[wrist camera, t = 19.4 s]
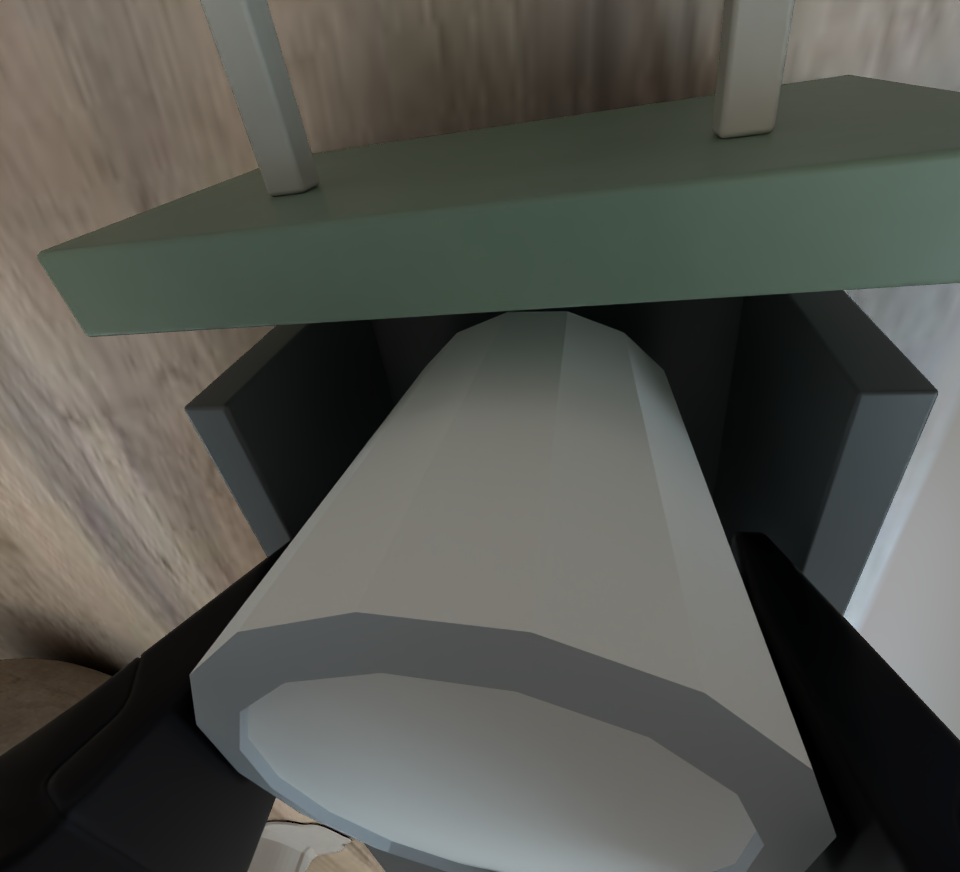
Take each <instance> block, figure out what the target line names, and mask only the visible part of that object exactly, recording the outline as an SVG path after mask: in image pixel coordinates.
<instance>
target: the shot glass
mask: <svg viewBox="0 0 960 872" xmlns="http://www.w3.org/2000/svg"><path fill="white" fill-rule="evenodd" d="M190 683H191V690H192V697H193V704H194V712H195V719H196V725H197V726H198V727H199V728H200V729H201V730H202V732H203V733H204V734H205V735H206V736H207V737H208V738H209V740H210V741H211V742H212V743H213V744H214V745H215V746H216V747H217V749H218V750H219V751H220V752H221V753H222V754H223V755H224V757H225V758H226V759H227V760H228V761H229V762H230V763H231V764H232V766H233V767H234V768H235V769H236V770H237V771H238V772H239V773H240V774H242V775H243V776H245V777H246V778H248V779H249V780H251V781H252V782H254V783H255V784H257V785H258V786H260V787H261V788H263V789H264V790H266V791H267V792H269V793H271V794H272V795H274V796H275V797H277V798H278V799H280V800H281V801H283V802H284V803H286V804H287V805H289V806H290V807H292V808H293V809H295V810H296V811H298V812H299V813H301V814H303V815H305V816H307V817H309V818H311V819H314V820H316V821H318V822H320V823H322V824H324V825H327V826H329V827H331V828H333V829H335V830H337V831H340V832H342V833H344V834H346V835H348V836H350V837H353V838H355V839H357V840H359V841H361V842H363V843H366V844H368V845H370V846H372V847H374V848H377V849H379V850H382V851H385V852H388V853H391V854H394V855H397V856H400V857H403V858H406V859H409V860H412V861H415V862H418V863H421V864H424V865H427V866H430V867H433V868H437V869H440V870H443V871H446V872H805V871H806V870H807V869H808V867H809V866H810V865H811V864H812V863H813V862H814V861H815V860H816V859H817V858H818V856H819V855H820V854H821V853H822V852H823V851H824V850H825V849H826V848H827V847H828V845H829V844H830V843H831V842H832V841H833V840H834V839H835V838H836V837H837V836H836V834H835V831H834V828H833V825H832V822H831V819H830V817H829V814H828V811H827V808H826V805H825V803H824V800H823V797H822V794H821V791H820V788H819V786H818V783H817V780H816V777H815V774H814V772H813V769H812V766H811V763H810V761H809V758H808V755H807V753H806V750H805V747H804V745H803V742H802V739H801V737H800V734H799V731H798V729H797V726H796V723H795V720H794V718H793V715H792V712H791V710H790V707H789V704H788V702H787V699H786V696H785V694H784V691H783V688H782V686H781V683H780V680H779V678H778V675H777V672H776V669H775V667H774V664H773V661H772V659H771V656H770V653H769V651H768V648H767V645H766V643H765V640H764V637H763V635H762V632H761V629H760V627H759V624H758V621H757V618H756V616H755V613H754V610H753V608H752V605H751V602H750V600H749V597H748V594H747V592H746V589H745V586H744V584H743V581H742V578H741V576H740V573H739V570H738V567H737V565H736V562H735V559H734V557H733V554H732V551H731V549H730V546H729V543H728V541H727V538H726V535H725V533H724V530H723V527H722V525H721V522H720V519H719V516H718V514H717V511H716V508H715V506H714V503H713V500H712V498H711V495H710V492H709V490H708V487H707V484H706V482H705V479H704V476H703V474H702V471H701V468H700V465H699V463H698V460H697V457H696V455H695V452H694V449H693V447H692V444H691V441H690V439H689V436H688V433H687V431H686V428H685V425H684V423H683V420H682V417H681V414H680V412H679V409H678V406H677V404H676V401H675V398H674V396H673V393H672V390H671V388H670V385H669V382H668V380H667V377H666V374H665V372H664V370H663V369H662V368H661V367H660V366H659V365H658V364H657V363H656V362H655V361H654V360H653V359H651V358H650V357H649V356H648V355H647V354H646V353H645V352H644V351H643V350H642V349H641V348H640V347H639V346H638V345H637V344H636V343H635V342H634V341H632V340H631V339H630V338H629V337H628V336H627V335H626V334H625V333H624V332H621V331H619V330H616V329H613V328H611V327H608V326H605V325H603V324H600V323H597V322H595V321H592V320H589V319H587V318H584V317H581V316H579V315H576V314H573V313H571V312H568V311H553V312H506V313H504V314H501V315H499V316H496V317H494V318H492V319H489V320H487V321H484V322H482V323H480V324H477V325H475V326H472V327H470V328H468V329H465V330H463V331H460V332H458V333H456V334H455V336H454V337H453V338H452V339H451V340H450V341H449V342H448V343H447V344H446V345H445V346H444V347H443V348H442V350H441V351H440V352H439V353H438V354H437V355H436V356H435V357H434V358H433V359H432V360H431V361H430V363H429V364H428V365H427V366H426V367H425V368H424V369H423V371H422V372H421V373H420V375H419V376H418V377H417V378H416V380H415V381H414V382H413V384H412V385H411V386H410V388H409V389H408V390H407V391H406V393H405V394H404V395H403V397H402V398H401V399H400V401H399V402H398V403H397V405H396V406H395V407H394V408H393V410H392V411H391V412H390V414H389V415H388V416H387V418H386V419H385V420H384V422H383V423H382V424H381V425H380V427H379V428H378V429H377V431H376V432H375V433H374V435H373V436H372V437H371V438H370V440H369V441H368V442H367V444H366V445H365V446H364V448H363V449H362V450H361V452H360V453H359V454H358V455H357V457H356V458H355V459H354V461H353V462H352V463H351V465H350V466H349V467H348V469H347V470H346V471H345V472H344V474H343V475H342V476H341V478H340V479H339V480H338V482H337V483H336V484H335V486H334V487H333V488H332V489H331V491H330V492H329V493H328V495H327V496H326V497H325V499H324V500H323V501H322V502H321V504H320V505H319V506H318V508H317V509H316V510H315V512H314V513H313V514H312V516H311V517H310V518H309V519H308V521H307V522H306V523H305V525H304V526H303V527H302V529H301V530H300V531H299V533H298V534H297V535H296V536H295V538H294V539H293V540H292V542H291V543H290V544H289V546H288V547H287V548H286V549H285V551H284V552H283V553H282V555H281V556H280V557H279V559H278V560H277V561H276V563H275V564H274V565H273V566H272V568H271V569H270V570H269V572H268V573H267V574H266V576H265V577H264V578H263V580H262V581H261V582H260V583H259V585H258V586H257V587H256V589H255V590H254V591H253V593H252V594H251V595H250V596H249V598H248V599H247V600H246V602H245V603H244V604H243V606H242V607H241V608H240V610H239V611H238V612H237V613H236V615H235V616H234V617H233V619H232V620H231V621H230V623H229V624H228V625H227V627H226V628H225V629H224V630H223V632H222V633H221V634H220V636H219V637H218V638H217V640H216V641H215V642H214V644H213V645H212V646H211V647H210V649H209V650H208V651H207V653H206V654H205V655H204V657H203V658H202V659H201V660H200V662H199V663H198V664H197V666H196V667H195V668H194V670H193V671H192V672H191V674H190Z"/></svg>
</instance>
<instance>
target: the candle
mask: <svg viewBox="0 0 960 872" xmlns="http://www.w3.org/2000/svg"><path fill="white" fill-rule="evenodd" d="M350 842H351V840H350V839H349V838H346V837H343V836H341V835H340V834H338V833H336V832H334V831H332V830H329V829H327V828H325V827H322V826H319V825H300V824H296V823H289V822H267V823H266V825H265V827H264V830H263V832H262V835H261V838H260V840H259V843H258V846H257V848H256V851H255V854H254V856H253V859H252V861H251V864H250V867H249V869H248V872H306V870H307V868H308V866H309V864H310V862H311V861H312V860H313V859H314V858H315V857H317V856H318V855H323V854H329V853H334V852H339V851H342V850H343V848H344V845H343V844H346V843H350Z"/></svg>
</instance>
